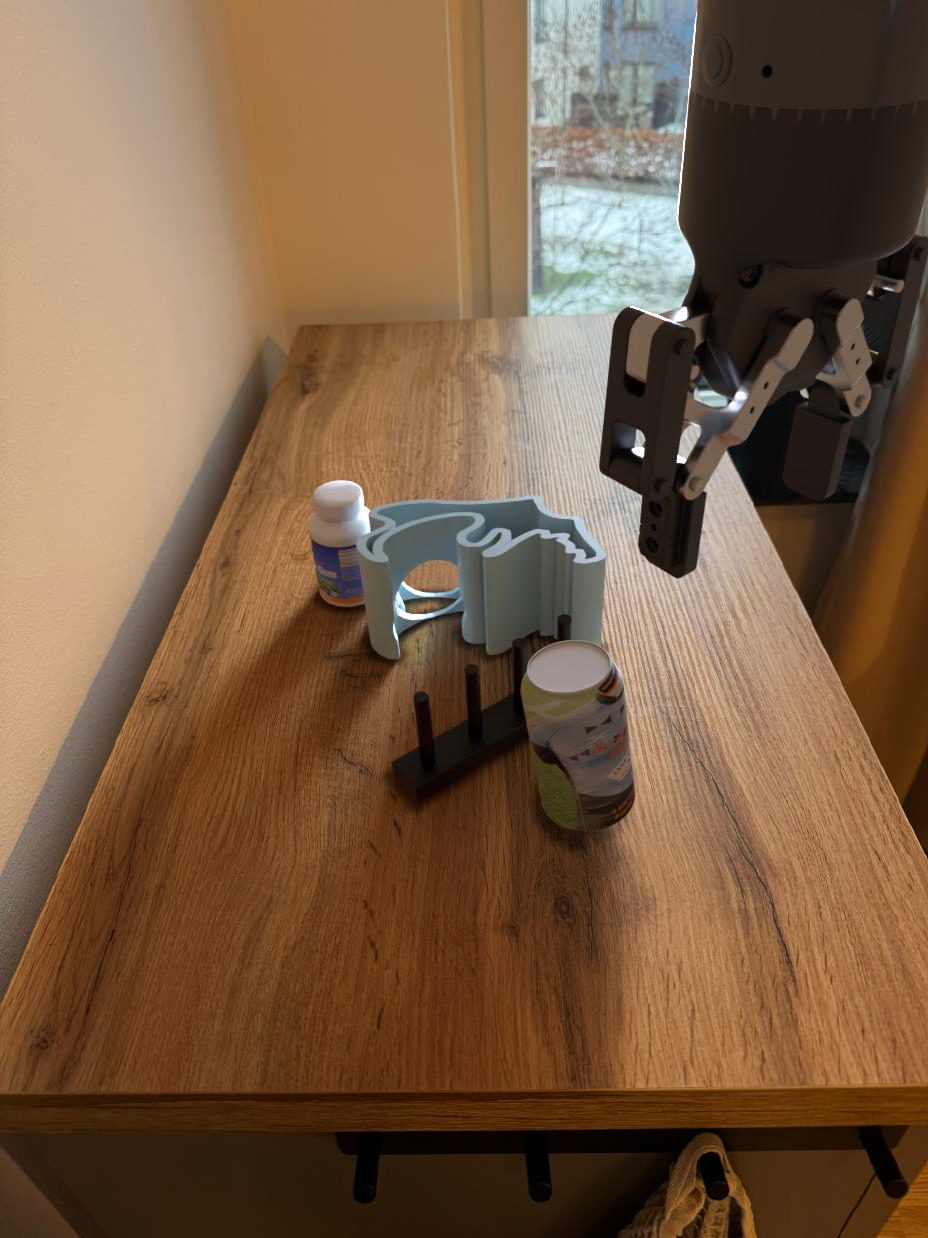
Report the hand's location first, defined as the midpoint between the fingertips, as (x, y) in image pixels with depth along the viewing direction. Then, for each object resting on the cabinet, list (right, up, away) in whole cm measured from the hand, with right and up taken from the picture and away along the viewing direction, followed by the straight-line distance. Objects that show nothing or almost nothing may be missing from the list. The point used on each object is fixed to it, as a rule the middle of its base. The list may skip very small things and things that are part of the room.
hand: (741, 526), depth 38 cm
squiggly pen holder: (-10, -5, +37) cm, 38 cm away
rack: (-9, -12, +27) cm, 31 cm away
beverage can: (-4, -16, +22) cm, 28 cm away
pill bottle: (-21, -1, +42) cm, 46 cm away
